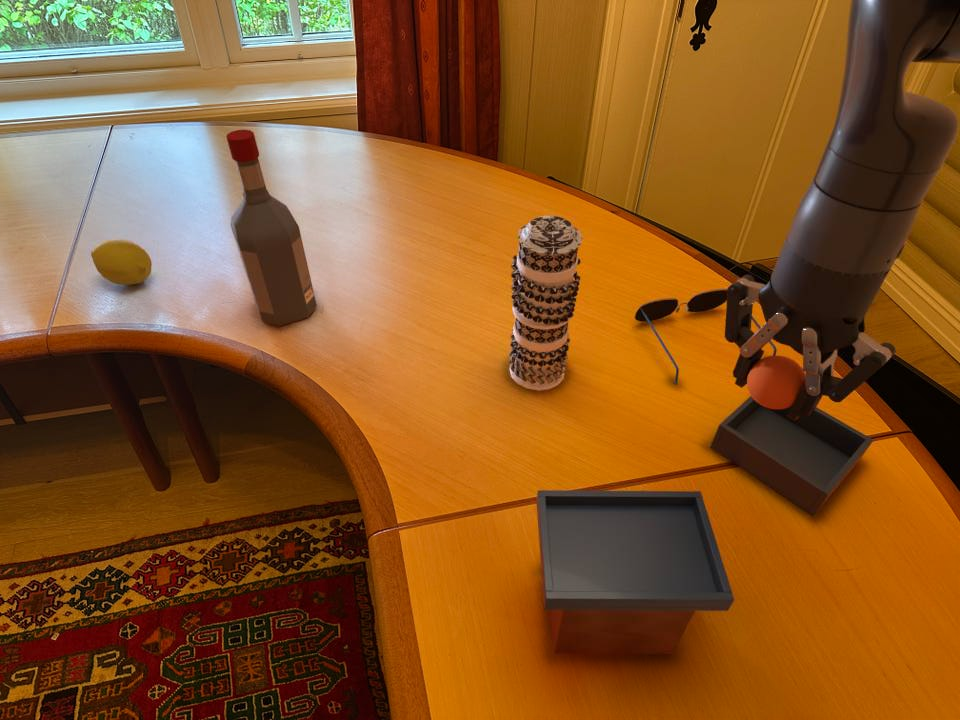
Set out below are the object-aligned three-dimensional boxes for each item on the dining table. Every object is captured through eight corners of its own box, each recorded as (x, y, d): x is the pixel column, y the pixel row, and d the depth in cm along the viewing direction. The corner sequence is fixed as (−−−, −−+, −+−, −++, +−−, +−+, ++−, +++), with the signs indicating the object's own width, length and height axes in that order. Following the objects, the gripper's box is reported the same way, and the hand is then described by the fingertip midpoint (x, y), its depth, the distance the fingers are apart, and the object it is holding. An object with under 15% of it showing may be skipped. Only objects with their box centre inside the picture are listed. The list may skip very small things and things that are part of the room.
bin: (858, 462, 79) (874, 439, 76) (813, 516, 73) (828, 494, 70) (758, 402, 87) (768, 379, 84) (709, 446, 81) (719, 424, 78)
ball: (805, 403, 58) (826, 364, 54) (778, 429, 55) (797, 390, 52) (758, 375, 60) (774, 337, 57) (729, 398, 58) (745, 360, 55)
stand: (654, 571, 68) (678, 511, 60) (672, 654, 62) (701, 599, 53) (547, 570, 68) (557, 511, 60) (554, 653, 62) (565, 598, 53)
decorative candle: (506, 349, 95) (512, 206, 78) (565, 351, 95) (584, 207, 78) (506, 391, 89) (512, 244, 72) (569, 392, 89) (591, 246, 72)
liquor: (266, 331, 99) (211, 154, 78) (253, 301, 104) (199, 129, 84) (320, 315, 102) (281, 140, 81) (305, 287, 108) (265, 117, 87)
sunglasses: (722, 307, 104) (732, 285, 100) (769, 372, 95) (783, 351, 91) (630, 323, 100) (637, 302, 96) (670, 393, 91) (680, 372, 87)
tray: (695, 503, 61) (700, 491, 59) (727, 611, 53) (734, 600, 51) (536, 502, 61) (537, 489, 59) (544, 609, 53) (545, 598, 51)
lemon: (169, 278, 109) (153, 240, 104) (131, 300, 104) (112, 261, 99) (130, 261, 113) (113, 223, 108) (92, 282, 109) (72, 243, 103)
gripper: (730, 222, 48) (682, 376, 60) (920, 306, 40) (822, 465, 52) (779, 193, 52) (725, 343, 63) (963, 265, 44) (863, 422, 55)
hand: (769, 397), depth 57 cm, fingers closed on ball, 5 cm apart
